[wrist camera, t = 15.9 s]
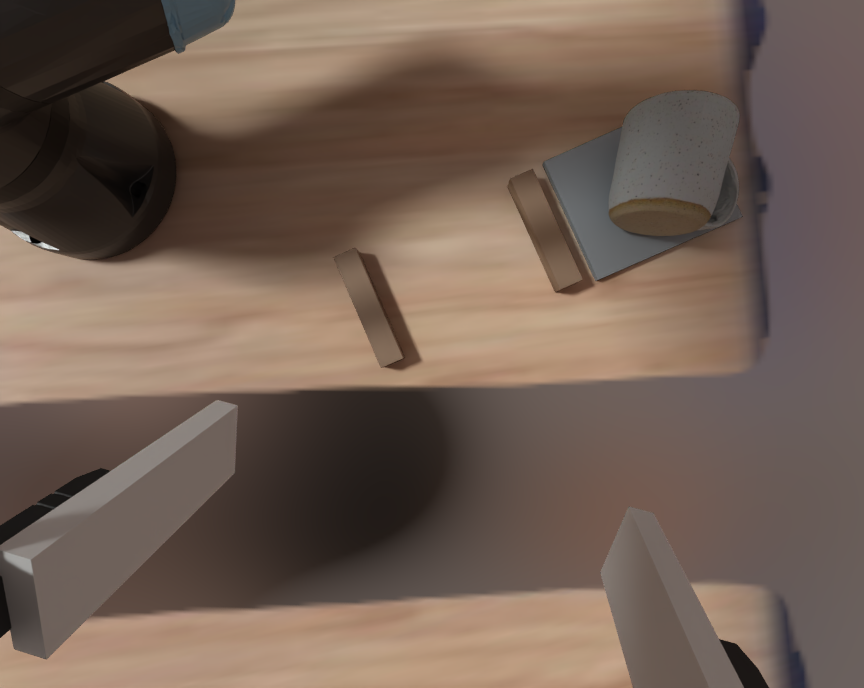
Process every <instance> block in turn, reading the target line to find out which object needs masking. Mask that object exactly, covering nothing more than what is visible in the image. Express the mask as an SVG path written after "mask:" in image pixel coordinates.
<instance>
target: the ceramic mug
mask: <svg viewBox="0 0 864 688" xmlns="http://www.w3.org/2000/svg"><path fill="white" fill-rule="evenodd" d="M739 118H740V114H739V111H738V108H737V106H736V105H735V104H734V103H733V102H732V101H730V100H729V99H728V98H726V97H724V96H721V95H719V94H715V93H712V92H706V91H696V90H684V91H672V92H667V93H663V94H660V95H657V96H654V97H651V98H648V99H646V100H644V101H642V102H640V103H639V104H637V105H636V106H635V107H633V108H632V109H631V110H630V111H629V112H628V114H627V115H626V117H625V119H624V121H623V126H622V131H621V136H620V142H619V147H618V152H617V157H616V162H615V169H614V175H613V180H612V184H611V188H610V193H609V202H608V203H609V217H610V219H611V221H612V222H613V223H614V224H615V225H616V226H618V227H619V228H621V229H623V230H626V231H629V232H632V233H638V234H642V235H651V236H675V235H682V234H687V233H691V232H694V231H696V230H705V229H712V228H716V227H719V226H721V225H723V224H724V223H725V222H726V221H727V220H728V219H729V218H730V217H731V215H732V213H733V211H734V209H735V206H736V203H737V200H738V195H739V181H738V175H737V171H736V169H735V166H734V164H733V163H732V161H731V160H730V158H729V156H730V153H731V149H732V146H733V142H734V138H735V135H736V131H737V128H738V124H739ZM711 215H712V216H711ZM710 217H711V219H710ZM709 219H710V220H709Z"/></svg>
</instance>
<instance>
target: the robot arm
mask: <svg viewBox="0 0 864 688" xmlns="http://www.w3.org/2000/svg"><path fill="white" fill-rule="evenodd" d="M234 9H235V0H0V225H1V226H3V227H5V228H7V229H9V230H10V231H12V232H13V233H14V234H15V235H17V236H18V237H20V238H22V239H23V240H25V241H26V242H28V243H30V244H32V245H34V246H36V247H39V248H41V249H44V250H47V251H50V252H54V253H57V254H61V255H65V256H69V257H73V258H79V259H102V258H108V257H112V256H115V255H118V254H121V253H123V252H126V251H128V250H130V249H131V248H133V247H135V246H136V245H138V244H139V243H141V242H142V241H143V240H144V239H146V238H147V237H148V236H149V235H150V234H151V233H152V232H153V231H154V230H155V228H156V227H157V226H158V225H159V223H160V222H161V220H162V219H163V217H164V215H165V214H166V212H167V210H168V208H169V205H170V203H171V200H172V197H173V193H174V188H175V181H176V163H175V156H174V152H173V148H172V145H171V142H170V140H169V138H168V135H167V133H166V132H165V130H164V128H163V127H162V125H161V124H160V123H159V121H158V120H157V119H156V118H155V117H154V115H153V114H152V113H150V112H149V111H148V110H147V109H146V108H145V107H143V106H142V105H141V104H140V103H139V102H137V101H136V100H135V99H134V98H132V97H131V96H130V95H129V94H127V93H126V92H124V91H123V90H121V89H119V88H118V87H116V86H114V85H112V84H110V83H108V82H105V80H108V79H110V78H112V77H115V76H117V75H119V74H121V73H124V72H126V71H128V70H131V69H133V68H135V67H137V66H140V65H142V64H144V63H147V62H149V61H151V60H153V59H156V58H158V57H160V56H163V55H165V54H167V53H170V52H172V51H174V50H175V51H176V52H177V53H178V54H179V53H182V52H184V51H185V47H186V45H188V44H190V43H192V42H194V41H196V40H198V39H200V38H202V37H204V36H206V35H208V34H209V33H211V32H213V31H215V30H217V29H219V28H221V27H223V26H224V25H225V24H226V23H227V22H228V21H229V20H230V19H231V17H232V15H233V12H234ZM237 410H238V406H237V405H234V404H230V403H226V402H222V401H218V400H216V401H214V402H213V403H212V404H210V405H209V406H207V407H206V408H204V409H203V410H201V411H200V412H198V413H197V414H195V415H194V416H192V417H191V418H189V419H188V420H186V421H185V422H183V423H182V424H180V425H179V426H177V427H176V428H174V429H173V430H171V431H170V432H168V433H167V434H165V435H164V436H162V437H161V438H159V439H158V440H156V441H155V442H153V443H152V444H150V445H149V446H147V447H146V448H144V449H143V450H141V451H140V452H138V453H137V454H136V455H134V456H132V457H131V458H130V459H128V460H127V461H125V462H124V463H122V464H121V465H119V466H118V467H116V468H115V469H113V470H112V471H109V470H106V469H102V468H100V469H98V470H95V471H92V472H90V473H87V474H85V475H82V476H80V477H77V478H75V479H73V480H72V481H70V482H69V483H67V484H65V485H64V486H62V487H61V488H59V489H58V490H56V491H55V493H54V494H50V495H48V496H46V497H45V498H43V499H42V500H40V501H39V502H38V503H37V504H36V505H32V506H31V507H29V508H28V509H26V510H24V511H23V512H21V513H19V514H18V515H16V516H15V517H13V518H12V519H10V520H9V521H7V522H5V523H4V524H2V525H0V638H1V637H2V636H3V635H4V634H5V633H7V632H8V631H9V630H10V631H11V636H12V641H13V647H14V649H15V650H19V651H22V652H25V653H28V654H31V655H34V656H37V657H40V658H43V659H46V660H47V659H48V658H49V657H50V656H51V655H52V654H53V653H54V652H55V651H56V650H57V649H58V648H59V647H60V646H61V645H62V644H63V643H64V642H65V641H66V640H67V639H68V638H69V637H70V636H71V635H72V634H73V633H74V632H75V631H76V630H77V629H78V628H79V627H80V626H81V625H82V624H83V623H84V622H85V621H86V620H87V619H88V618H89V617H90V616H91V615H92V614H93V613H94V612H95V611H96V610H97V609H98V608H99V607H100V606H101V605H102V604H103V603H104V602H105V601H106V600H107V599H108V598H109V597H110V596H111V595H112V594H113V593H114V592H115V591H116V590H117V589H118V588H119V587H120V586H121V585H122V584H123V583H124V582H125V581H126V580H127V579H128V578H129V577H130V576H131V575H132V574H133V573H134V572H135V571H136V570H137V569H138V568H139V567H140V566H141V565H142V564H143V563H144V562H145V561H146V560H147V559H148V558H149V557H150V556H151V555H152V554H153V553H154V552H155V551H156V550H157V549H158V548H159V547H160V546H161V545H162V544H163V543H164V542H165V541H166V540H167V539H168V538H169V537H170V536H171V535H172V534H173V533H174V532H175V531H176V530H177V529H178V528H179V527H180V526H181V525H182V524H183V523H184V522H186V521H187V520H188V519H189V518H190V516H191V515H193V513H195V512H196V511H197V509H199V508H200V507H201V505H203V504H204V503H205V501H207V500H208V499H209V498H210V497H211V496H212V495H213V494H214V493H215V492H216V491H217V490H218V489H219V488H220V487H221V486H222V485H223V484H224V483H225V482H226V481H227V480H228V479H229V478H230V477H231V476H232V474H234V472H235V451H236V431H237V430H236V429H237ZM600 573H601V577H602V580H603V584H604V587H605V591H606V594H607V598H608V601H609V605H610V608H611V612H612V615H613V619H614V622H615V626H616V629H617V633H618V636H619V640H620V643H621V647H622V650H623V654H624V657H625V661H626V664H627V668H628V671H629V675H630V678H631V682H632V685H633V688H769V687H768V685H767V684H766V682H765V680H764V678H763V677H762V675H761V673H760V671H759V670H758V668H757V667H756V666H755V665H754V664H753V662H752V661H751V660H750V659H749V658H748V657H747V655H746V654H745V653H744V652H743V651H742V650H741V649H740V647H739V646H738V645H737V644H735V643H731V642H727V641H724V640H720V639H719V638H718V636H717V635H716V633H715V631H714V629H713V627H712V625H711V623H710V621H709V619H708V617H707V615H706V613H705V611H704V609H703V607H702V606H701V604H700V602H699V600H698V598H697V596H696V594H695V592H694V590H693V588H692V586H691V584H690V582H689V580H688V579H687V577H686V575H685V573H684V571H683V569H682V567H681V566H680V563H679V561H678V559H677V558H676V555H675V553H674V552H673V550H672V548H671V546H670V544H669V542H668V540H667V538H666V536H665V534H664V532H663V530H662V528H661V526H660V524H659V523H658V521H657V519H656V517H655V515H654V513H652V512H648V511H644V510H641V509H637V508H633V507H628V509H627V512H626V514H625V516H624V519H623V521H622V523H621V526H620V528H619V530H618V533H617V535H616V537H615V540H614V542H613V544H612V546H611V549H610V551H609V553H608V556H607V558H606V560H605V563H604V565H603V568H602V570H601V572H600Z"/></svg>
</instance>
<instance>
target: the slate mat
mask: <svg viewBox="0 0 864 688" xmlns="http://www.w3.org/2000/svg"><path fill="white" fill-rule="evenodd" d="M621 131H622V127H621V128H618V129H616V130H614V131H612V132H609V133H607V134H605V135H603V136H600V137H598V138H596V139H594V140H591V141H589V142H587V143H585V144H582V145H580V146H578V147H576V148H573V149H571V150H569V151H567V152H564V153H562V154H560V155H558V156H555V157H553V158H551V159H549V160H546V161H544V163H543V167H544V169H545V171H546V173H547V176H548V178H549V180H550V182H551V184H552V187H553V189H554V191H555V193H556V195H557V198H558V200H559V202H560V204H561V206H562V209H563V211H564V213H565V215H566V217H567V220H568V222H569V224H570V226H571V228H572V231H573V233H574V235H575V237H576V239H577V242H578V244H579V246H580V248H581V250H582V253H583V255H584V257H585V259H586V261H587V264H588V266H589V268H590V270H591V272H592V275H593V277H594V279H595V281H597V280H599V279H601V278H604V277H606V276H608V275H610V274H613V273H615V272H617V271H620V270H622V269H624V268H626V267H629V266H631V265H633V264H636V263H638V262H640V261H643V260H645V259H647V258H649V257H652V256H654V255H656V254H659V253H661V252H663V251H665V250H668V249H670V248H672V247H675V246H677V245H679V244H681V243H684V242H686V241H688V240H691V239H693V238H695V237H697V236H700V235H702V234H704V233H707V232H709V231H711V230H714V229H716V228H718V227H716V228H712V229H705V230H696V231H694V232H691V233H687V234H682V235H675V236H651V235H642V234H638V233H632V232H629V231H626V230H623V229H621V228H619V227H618V226H616V225H615V224H614V223H613V222H612V221H611V219H610V217H609V203H608V202H609V193H610V188H611V184H612V180H613V175H614V169H615V162H616V157H617V152H618V147H619V142H620V136H621ZM711 216H712V215H711ZM741 217H743V216H742V214H741V212H740V210H739V207H738V205H737V203H736V206H735V209H734V211H733V213H732V215H731V217H730V218H729V219H728V220H727V221H726V222H725V223H724V224H723V225H725V224H727V223H730V222H732V221H734V220H736V219H739V218H741ZM710 219H711V217H710ZM710 219H709V220H710ZM723 225H721V226H723ZM719 227H720V226H719Z"/></svg>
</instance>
